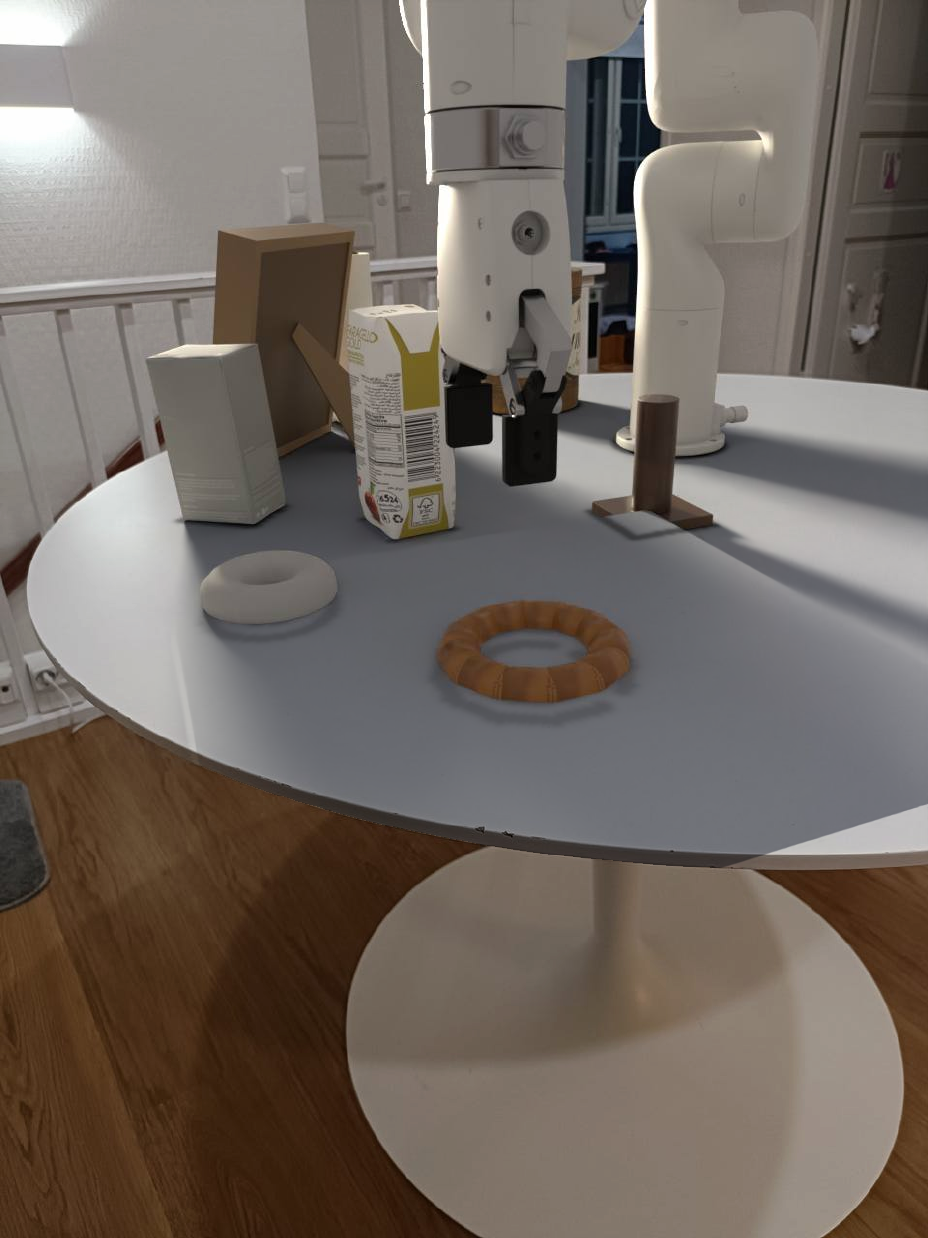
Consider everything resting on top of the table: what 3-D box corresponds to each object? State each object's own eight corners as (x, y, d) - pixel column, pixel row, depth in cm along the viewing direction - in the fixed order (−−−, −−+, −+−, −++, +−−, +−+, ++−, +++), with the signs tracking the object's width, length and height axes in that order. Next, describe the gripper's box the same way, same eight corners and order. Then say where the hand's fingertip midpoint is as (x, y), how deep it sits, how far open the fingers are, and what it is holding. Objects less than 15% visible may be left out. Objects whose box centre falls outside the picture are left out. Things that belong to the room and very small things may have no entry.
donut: (342, 581, 70) (215, 586, 70) (339, 541, 69) (209, 545, 68) (336, 638, 61) (190, 644, 61) (332, 592, 60) (183, 598, 59)
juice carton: (389, 545, 77) (374, 317, 69) (354, 517, 84) (336, 307, 76) (465, 529, 80) (460, 310, 72) (425, 504, 87) (416, 301, 79)
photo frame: (208, 474, 99) (169, 230, 88) (302, 428, 117) (280, 223, 106) (325, 483, 94) (301, 228, 83) (405, 435, 112) (393, 220, 102)
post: (664, 499, 86) (672, 386, 81) (712, 524, 79) (724, 402, 75) (591, 511, 84) (595, 394, 79) (634, 538, 77) (642, 412, 72)
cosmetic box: (287, 506, 87) (268, 341, 81) (249, 530, 81) (224, 354, 75) (215, 499, 90) (189, 339, 83) (172, 522, 84) (141, 351, 77)
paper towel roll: (389, 417, 121) (378, 250, 112) (362, 427, 117) (348, 253, 108) (348, 412, 125) (335, 250, 116) (320, 421, 120) (304, 253, 111)
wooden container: (584, 414, 120) (589, 239, 110) (475, 417, 120) (471, 242, 111) (573, 392, 133) (577, 234, 124) (475, 394, 134) (472, 237, 124)
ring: (574, 616, 63) (575, 582, 62) (666, 695, 53) (669, 657, 52) (415, 647, 59) (413, 612, 58) (480, 738, 49) (479, 698, 48)
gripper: (638, 141, 41) (619, 492, 49) (498, 161, 56) (499, 428, 63) (490, 141, 39) (493, 509, 46) (385, 162, 54) (400, 439, 61)
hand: (497, 462), depth 55 cm, fingers open, 9 cm apart
